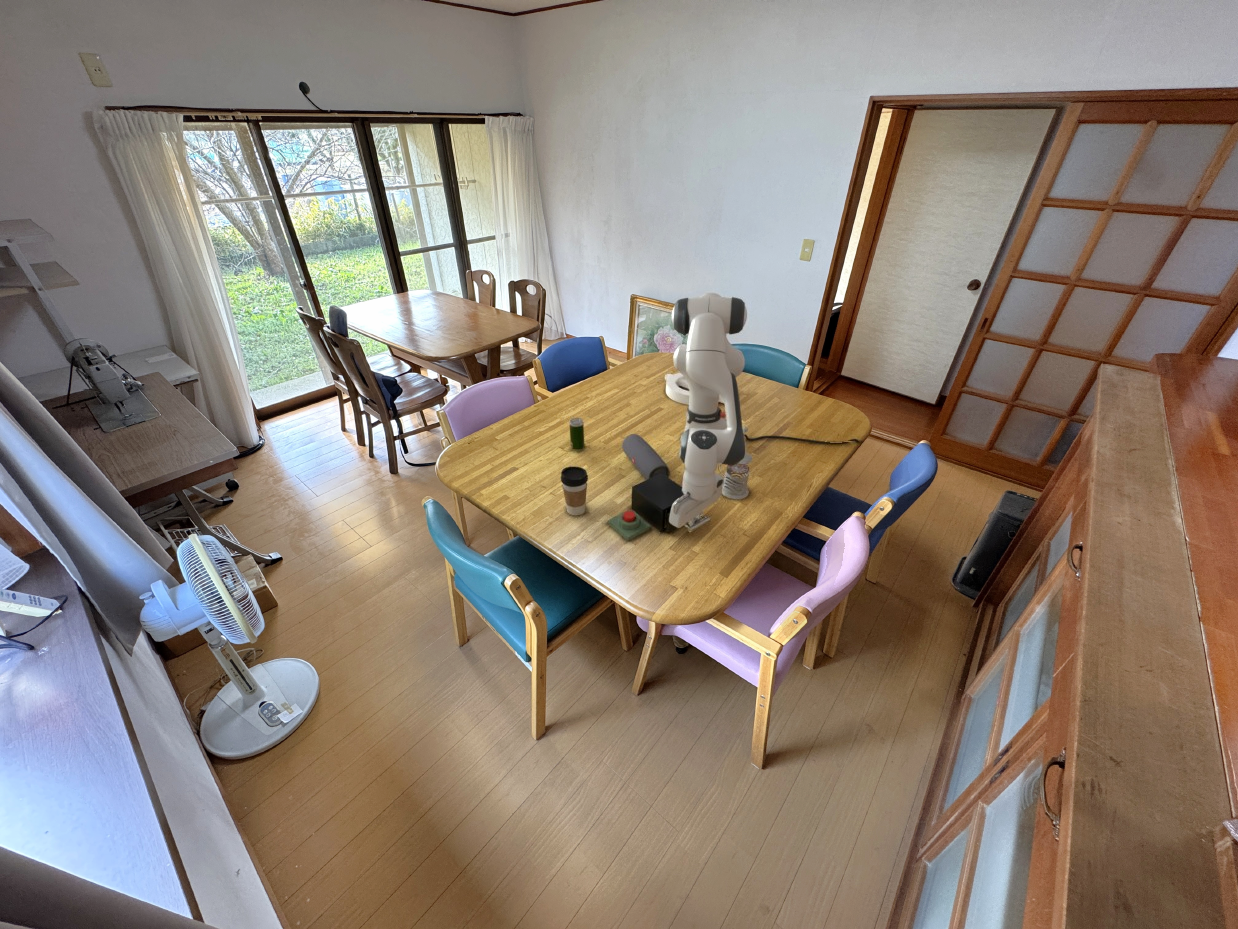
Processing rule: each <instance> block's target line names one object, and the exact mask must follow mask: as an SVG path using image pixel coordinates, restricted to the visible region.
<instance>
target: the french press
mask: <svg viewBox="0 0 1238 929" xmlns="http://www.w3.org/2000/svg"><path fill="white" fill-rule="evenodd" d="M742 428H743V433H744V434H746V433H747V432H748V430H749V428H748V427H747V426H742ZM752 462H753V455H751V454H750V453H748V452H747V451H746V452H745V456H744V458H743V459H742V460H741V461H740V462H738V463H737V464H735V465H733V466H732V465H726V471H724V470H723V469H722V464H721V463H718V464H717V470H718V473H719V475H720V476H722V477H723V478H724V483H723V484H722V485H723V486H722V492H721V495H722V496H724V497H726V498H728V499H730V500H731V499H732V500H742V499H745V498H747V497H748V496H749V493H750V492H749V489H748V482H749V477H750V467H749V464H750V463H752ZM719 467H720V468H719ZM721 471H722V472H721ZM722 473H723V474H724V475H723V474H722Z"/></svg>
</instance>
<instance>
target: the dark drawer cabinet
mask: <svg viewBox="0 0 1238 929" xmlns="http://www.w3.org/2000/svg"><path fill="white" fill-rule="evenodd" d="M683 495H684V493H683V491H682V485H680V484H679V483H677V482H676V481H674V480H673V479H671V478H670V477H669V478H668V477H667V476H665V475H664V474H662V473H660V474H658V475H656V476H654V477H651V478H649V479H647V480H646V479H645V480H643V481H641V482H639V483H637V484H634V485H632V486H631V504H630V507H631V508H630V509H631V510H632V511H633V512H635V513H637V514H638V515H639V517H641V518H642V519H643V520H644V521H646V522H647V523H648V524H649V525H651V526H652V527H654V528H655V529H656V530H657V531H658V532H660V533H661V534H662V533H663V532H666V528H664V527H663V525H664V512H665V510H667V509H669V508H671V507H672V505H673V503H674V502H675V501H676V500H677V499H678V498H680V497H682V496H683Z"/></svg>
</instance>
